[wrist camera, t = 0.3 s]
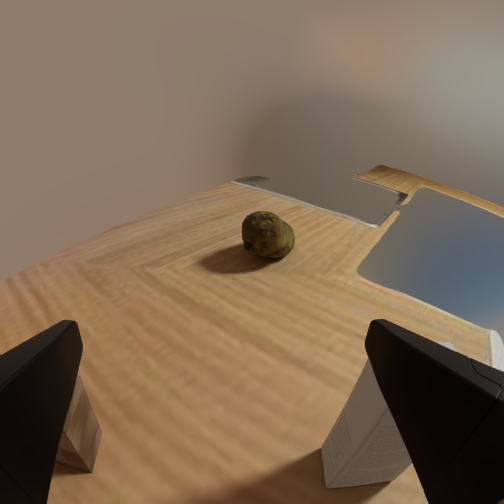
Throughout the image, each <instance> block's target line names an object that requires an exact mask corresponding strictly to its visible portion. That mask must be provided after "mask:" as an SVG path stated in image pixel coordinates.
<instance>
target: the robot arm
mask: <svg viewBox="0 0 504 504" xmlns="http://www.w3.org/2000/svg"><path fill="white" fill-rule="evenodd" d="M365 349H366V352H367V355H368V358H369V360H370V363H371V366H372V369H373V372H374V375H375V378H376V381H377V383H378V386H379V388H380V391H381V393H382V395H383V397H384V399H385V401H386V404H387V406H388V408H389V410H390V412H391V415H392V417H393V419H394V421H395V424H396V426H397V428H398V430H399V433H400V435H401V437H402V439H403V442H404V444H405V446H406V449H407V451H408V453H409V456H410V458H411V461H412V463H413V465H414V468H415V470H416V473H417V475H418V478H419V480H420V483H421V485H422V488H423V489H424V493H425V496H426V498H427V501H428V503H429V504H504V372H503V371H500V370H498V369H495V368H493V367H490V366H488V365H485V364H483V363H481V362H478V361H476V360H474V359H472V358H469V357H467V356H465V355H463V354H460V353H458V352H456V351H454V350H451V349H449V348H447V347H445V346H443V345H440V344H438V343H436V342H434V341H431V340H429V339H427V338H425V337H423V336H420V335H418V334H416V333H414V332H412V331H409V330H407V329H405V328H403V327H401V326H398V325H396V324H394V323H392V322H390V321H387V320H385V319H376V320H372V321H371V323H370V326H369V329H368V332H367V336H366V339H365ZM82 351H83V344H82V340H81V336H80V332H79V328H78V325H77V323H76V322H75V321H72V320H62V321H61V322H59V323H57V324H55V325H53V326H52V327H50V328H48V329H46V330H44V331H43V332H41V333H39V334H37V335H35V336H34V337H32V338H30V339H28V340H27V341H25V342H23V343H21V344H20V345H18V346H16V347H14V348H13V349H11V350H9V351H7V352H6V353H4V354H2V355H1V356H0V504H47V500H48V494H49V489H50V483H51V478H52V473H53V469H54V464H55V460H56V455H57V451H58V447H59V443H60V439H61V435H62V431H63V428H64V424H65V420H66V417H67V413H68V410H69V407H70V403H71V400H72V397H73V393H74V389H75V384H76V379H77V374H78V369H79V365H80V360H81V356H82Z"/></svg>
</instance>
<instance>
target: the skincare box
mask: <svg viewBox="0 0 504 504" xmlns="http://www.w3.org/2000/svg"><path fill="white" fill-rule="evenodd" d="M438 344H440V345H443V346H445V347H447V348H449V349H451V350H454V351H456V349H455V348H454V346H453V345H452V344H451V343H450V342H442V343H438ZM456 352H457V351H456ZM321 453H322V459H323V467H324V476H325V485H326V488H340V487H350V486H359V485H366V484H374V483H380V482H386V481H392V480H394V479H396V478H397V477H398V476H399V475H400V474H401V473H402V472H403V471H404V470H405V469H406V468H407V467H408V466H409V465H411V464H412V461H411V458H410V456H409V453H408V451H407V449H406V446H405V444H404V442H403V439H402V437H401V435H400V433H399V430H398V428H397V426H396V424H395V421H394V419H393V417H392V415H391V412H390V410H389V408H388V406H387V404H386V401H385V399H384V397H383V395H382V393H381V391H380V388H379V386H378V383H377V381H376V378H375V375H374V372H373V369H372V366H371V363H370V360H369V358H368V360H367V362H366V364H365V366H364V368H363V371H362V373H361V375H360V377H359V379H358V381H357V383H356V385H355V387H354V389H353V391H352V393H351V395H350V397H349V399H348V401H347V402H346V404H345V406H344V408H343V410H342V412H341V413H340V415H339V417H338V419H337V421H336V423H335V424H334V426H333V428H332V430H331V431H330V433H329V435H328V436H327V438H326V440H325V441H324V443H323V445H322V447H321Z"/></svg>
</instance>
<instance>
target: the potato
mask: <svg viewBox="0 0 504 504" xmlns="http://www.w3.org/2000/svg"><path fill="white" fill-rule="evenodd" d="M242 238H243V241H244V248H245V249H247V250H251V251H252V252H253V253H255V254H257V255H259V256H266V257H271V258H282V257H284V256H286V255H287V254H288V253H289V252H290V251H291V250H292V248H293V246H294V243H295V237H294V232H293V230H292V228H291V226H289V225H288V224H287V223H286V222H284V221H282V220H281V219H280V218H279V217H278V216H277V215H275V214H273V213H271V212H267V211H258V212H254V213H252V214H250V215H247V217H246V218H245V220H244V221H243V223H242Z"/></svg>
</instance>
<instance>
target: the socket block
mask: <svg viewBox="0 0 504 504" xmlns="http://www.w3.org/2000/svg"><path fill="white" fill-rule="evenodd" d="M0 356H1V354H0ZM101 435H102V430H101V428H100V426H99V423H98V421H97V419H96V416H95V414H94V412H93V409H92V407H91V404H90V402H89V399H88V397H87V394H86V391H85V389H84V386H83V383H82V381H81V378H80V376H77V379H76V384H75V389H74V393H73V397H72V400H71V403H70V407H69V410H68V413H67V417H66V420H65V424H64V428H63V431H62V435H61V439H60V443H59V447H58V451H57V455H56V460H55V462H57V463H60V464H63V465H66V466H69V467H72V468H76V469H79V470H83V471H87V472H90V473H92V471H93V467H94V463H95V458H96V454H97V450H98V446H99V442H100V439H101Z"/></svg>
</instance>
